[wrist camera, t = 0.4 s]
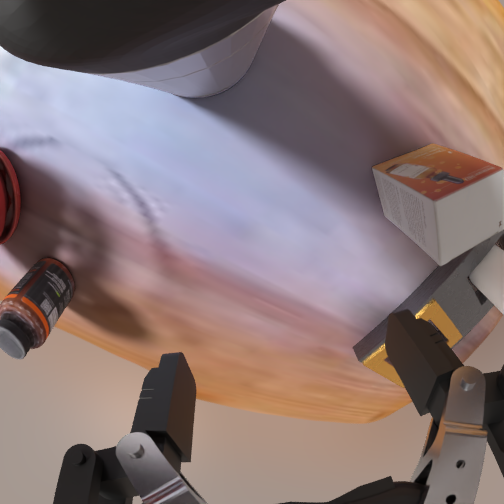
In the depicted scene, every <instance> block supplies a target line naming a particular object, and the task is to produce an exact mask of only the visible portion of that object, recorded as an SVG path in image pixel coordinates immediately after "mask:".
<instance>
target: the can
mask: <svg viewBox="0 0 504 504" xmlns="http://www.w3.org/2000/svg"><path fill="white" fill-rule="evenodd" d="M469 279H470V281H471V282H472V283H473V284H474V285H475V286H476V287H477V288H478V289H479V290H480V291H481V292H482V293H483V294H484V295H485V296H486V297H487V298H488V299H489V300H490V301H491V302H492V303H493V304H494V305H495V306H496V307H497V308H498V310H499V311H500V312H501V313H502V314H503V315H504V250H502V249H501V248H499V247H498V246H497V245H494V246H493V247H492V248H491V250H490V251H489V252H488V254H487V255H486V256H485V257H484V258H483V260H482V261H481V262H480V263H479V264H478V266H477V267H476V268H475V269H474V270H473V272H472V273H471V274H470V275H469Z"/></svg>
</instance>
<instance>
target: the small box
mask: <svg viewBox="0 0 504 504" xmlns="http://www.w3.org/2000/svg"><path fill="white" fill-rule="evenodd" d="M372 171H373V174H374V178H375V182H376V185H377V189H378V193H379V197H380V201H381V205H382V209H383V213H384V216H385V217H386V218H387V219H388V220H389V221H391V222H392V223H393V224H394V225H395V226H397V227H398V228H399V229H400V230H401V231H402V232H403V233H405V234H406V235H407V236H408V237H409V238H410V239H411V240H412V241H414V242H415V243H416V244H417V245H418V246H419V247H420V248H421V249H422V250H423V251H424V252H426V253H427V254H428V255H429V256H430V257H431V258H432V259H433V260H434V261H435V262H436V263H437V264H438V265H439V266H442V265H444V264H446V263H448V262H449V261H450V260H452V259H454V258H455V257H457V256H459V255H461V254H462V253H464V252H466V251H468V250H469V249H471V248H473V247H474V246H476V245H478V244H479V243H481V242H483V241H485V240H486V239H488V238H490V237H491V236H493V235H495V234H497V233H499V232H501V231H502V230H504V170H503V168H501V167H498V166H496V165H493V164H491V163H488V162H486V161H483V160H481V159H478V158H475V157H473V156H470V155H467V154H464V153H461V152H458V151H455V150H452V149H449V148H446V147H443V146H440V145H436V144H430V145H427V146H425V147H423V148H420V149H418V150H415V151H412V152H410V153H407V154H404V155H402V156H399V157H396V158H393V159H391V160H388V161H386V162H383V163H380V164H378V165H375V166H373V167H372Z"/></svg>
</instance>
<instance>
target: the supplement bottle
mask: <svg viewBox="0 0 504 504" xmlns="http://www.w3.org/2000/svg"><path fill="white" fill-rule="evenodd" d="M74 291H75V284H74V280H73V278H72V275H71V274H70V272H69V271H68V269H67V268H66V267H65V266H64V265H63V264H62V263H60V262H59V261H57V260H54V259H51V258H44V259H41V260H39V261H38V262H37V263H36V264H35V265H34V266H33V267H32V268H31V269H30V270H29V271H28V272H27V273H26V275H25V276H24V277H23V278H22V279H21V280H20V281H19V282H18V283H17V285H16V286H15V287H14V288H13V289H12V290H11V292H10V293H9V294H8V295H7V296H6V297H5V299H4V300H3V301H2V303H1V305H0V348H1V349H2V350H3V351H4V352H5V353H7V354H8V355H10V356H11V357H13V358H16V359H23V358H24V357H25V356H26V354H27V352H28V351H29V349H30V348H31V349H35V348H38V347H40V346H42V345H43V343H44V342H45V340H46V339H47V337H48V335H49V334H50V332H51V330H52V329H53V327H54V325H55V324H56V322H57V321H58V319H59V317H60V316H61V314H62V313H63V311H64V309H65V308H66V306H67V305H68V303H69V302H70V300H71V298H72V297H73V294H74Z"/></svg>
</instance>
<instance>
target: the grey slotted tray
mask: <svg viewBox="0 0 504 504" xmlns="http://www.w3.org/2000/svg"><path fill="white" fill-rule="evenodd" d="M497 241H498V242H499V244H500V247H501V249H502V250H504V230H502V231H501V232H499V233H497V234H495V235H493V236H491V237H490V238H488V239H486V240H485V241H483V242H481V243H479V244H478V245H476V246H474V247H473V248H471V249H469V250H468V251H466V252H464V253H462V254H461V255H459V256H457V257H455V258H454V259H452V260H450V261H449V262H448V263H446V264H444V265H442V266H438V267H437V268H436V269H435V270H434V272H433V273H432V274H431V275H430V276H429V277H428V278H427V279H426V280H425V281H424V282H423V283H422V284H421V285H420V286H419V287H418V288H417V289H416V290H415V291H414V292H413V293H412V294H411V295H410V296H409V297H408V298H407V299H406V300H405V301H404V302H403V303H402V304H401V305H400V306H399V307H398V308H397V309H396V310H395V311H393V312H392V313H394V312H398V311H401V310H405V309H409V310H410V311H411V312H412V314H413V315H414V316H415V317H416V319H419V318H422V319H424V320H425V321H428V320H429V319H430V320H431V321H432V322H433V323H434V324H435V325H436V326H437V327H438V329H439V331H438V334H440V335H441V337H442V338H443V339H444V341H445V342H446V343H447V344H448V346H449V347H450V348H451V349H452V348H453V347H454V346H455V345H456V344H457V343H458V342H459V341H461V340H462V339H463V338H464V337H465V336H466V335H467V334H468V333H469V332H470V331H471V330H472V329H473V328H474V326H475V325H476V324H477V323H478V322H479V321H480V320H481V319H482V318H483V317H484V316H485V315H486V314H487V313H488V311H489V310H490V309H491V308H492V307H493V306H494V304H493V303H492V302H491V301H490V300H489V299H488V298H487V297H486V296H485V295H484V294H483V293H482V292H481V291H480V290H478V291H477V292H476V293H475V292H474V290H473V288H472V287H471V285H470V283H469V281H468V279H467V277H468V276H469V275H470V274H471V273H472V272H473V270H474V269H475V268H476V267H477V266H478V264H479V263H480V262H481V261H482V260H483V258H484V257H485V256H486V255H487V254H488V252H489V251H490V250H491V248H492V247H493V246H494V245H495V243H496V242H497ZM388 318H389V316H388V317H387V318H386V319H385V320H384V321H383V322H382V323H380V324H379V325H378V326H377V327H376V328H375V329H374V330H373V331H371V332H370V333H369V334H368V335H367V336H366V337H364V338H363V339H362V340H361V341H360V342H359V343H357V344H356V345H355V346H354V347H353V349H354V352H355V354H356V356H357V358H358V361H360V362H361V363H363V365H364V366H366V367H368V368H369V369H371V370H373V371H375V372H376V373H378V374H380V375H382V376H383V377H385V378H387V379H388V380H390V381H392V382H394V383H395V384H397V385H399V386H401V387H402V388H405V386H404V384H403V383H402V381H401V379H400V377H399V375H398V374H397V372H396V370H395V368H394V366H393V365H392V363H391V361H390V359H389V358H388V356H387V353H386V349H385V340H386V333H387V325H388Z"/></svg>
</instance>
